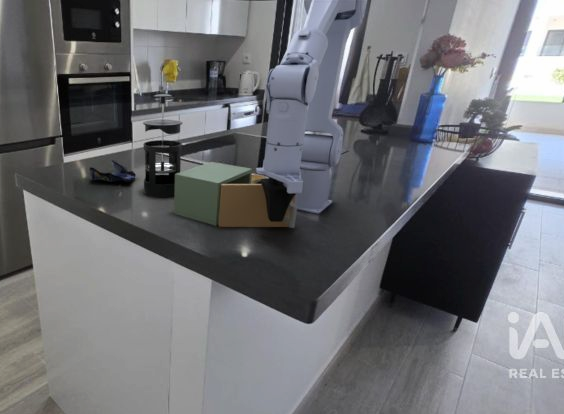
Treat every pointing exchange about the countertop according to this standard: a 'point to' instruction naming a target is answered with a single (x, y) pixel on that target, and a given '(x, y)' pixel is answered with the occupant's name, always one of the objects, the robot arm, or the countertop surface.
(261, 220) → the door
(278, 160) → the robot arm
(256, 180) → the pastry
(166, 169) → the french press
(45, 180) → the countertop surface
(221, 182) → the cupboard
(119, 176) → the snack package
